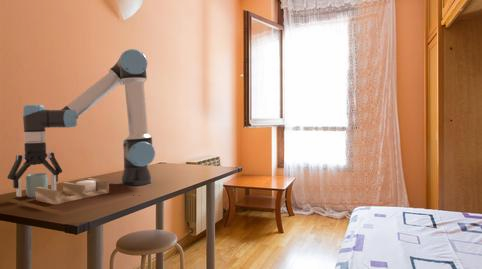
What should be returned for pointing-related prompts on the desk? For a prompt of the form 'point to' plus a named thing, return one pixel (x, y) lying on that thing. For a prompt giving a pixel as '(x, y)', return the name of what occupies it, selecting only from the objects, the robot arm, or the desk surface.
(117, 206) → the desk surface
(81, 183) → the white rounded piece
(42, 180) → the cup
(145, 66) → the robot arm
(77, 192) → the rack
